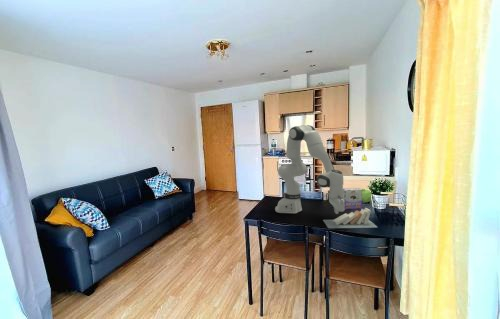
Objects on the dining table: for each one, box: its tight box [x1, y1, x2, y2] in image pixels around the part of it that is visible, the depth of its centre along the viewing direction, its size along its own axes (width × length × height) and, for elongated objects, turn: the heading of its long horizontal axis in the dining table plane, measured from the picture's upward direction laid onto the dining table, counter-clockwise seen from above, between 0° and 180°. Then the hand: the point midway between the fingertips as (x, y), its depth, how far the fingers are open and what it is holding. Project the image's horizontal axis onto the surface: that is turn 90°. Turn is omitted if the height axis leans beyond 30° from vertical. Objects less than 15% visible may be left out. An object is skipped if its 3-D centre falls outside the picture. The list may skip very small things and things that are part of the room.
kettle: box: [361, 188, 372, 204], centre depth 198 cm, size 15×14×11 cm
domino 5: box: [362, 207, 372, 225], centre depth 153 cm, size 2×5×10 cm, turn 177°
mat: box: [322, 219, 378, 229], centre depth 154 cm, size 32×14×1 cm, turn 86°
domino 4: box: [355, 208, 367, 224], centre depth 153 cm, size 2×5×10 cm
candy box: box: [342, 187, 363, 210], centre depth 183 cm, size 14×6×16 cm, turn 84°
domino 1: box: [333, 213, 350, 225], centre depth 154 cm, size 2×5×10 cm
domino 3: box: [349, 209, 362, 224], centre depth 154 cm, size 2×5×10 cm
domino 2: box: [342, 211, 357, 225], centre depth 154 cm, size 2×5×10 cm
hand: (336, 213), depth 153 cm, fingers closed
